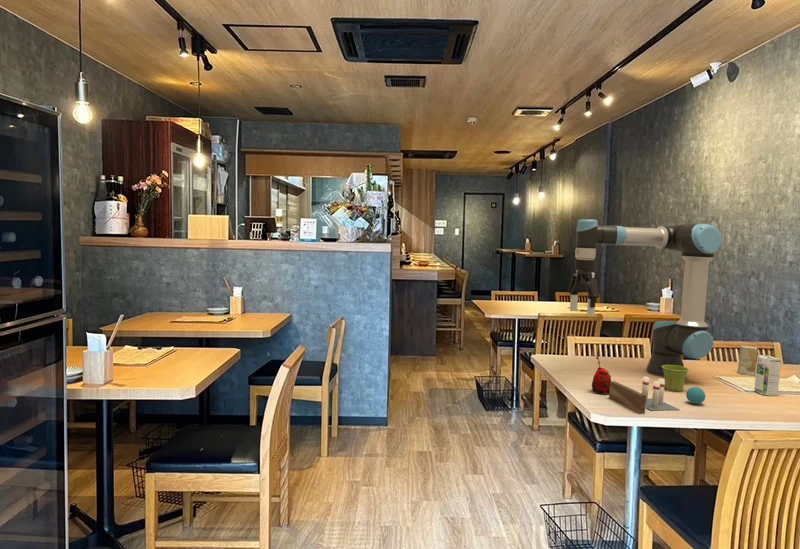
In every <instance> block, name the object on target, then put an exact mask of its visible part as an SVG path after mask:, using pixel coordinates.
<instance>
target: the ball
mask: <svg viewBox="0 0 800 549" xmlns="http://www.w3.org/2000/svg"><path fill="white" fill-rule="evenodd" d="M685 394H686V395H685V396H686V399H687V400H688V402H690V403H691V404H694V405H699V404H702V403H703V402H704V401H705V400H706V393H705V391H704V389H702V388H701V387H698V386H692V387H689V388H688V389H687V391H686V393H685Z"/></svg>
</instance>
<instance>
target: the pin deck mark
mask: <svg viewBox="0 0 800 549" xmlns="http://www.w3.org/2000/svg"><path fill="white" fill-rule="evenodd" d="M652 398H653V397H651V398H648V400H647V402H646V405H645V410H649V411H650V412H655V411H656V412H657V411H658V412H659V411H662V412H663V411H664V410H665V411H666V410H667V411H681V410H680V408H677V407H676V406H673V405H671V404H669V403H666V402H665V401H663V405H659V404H658V408H654V407H652Z"/></svg>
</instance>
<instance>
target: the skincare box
mask: <svg viewBox="0 0 800 549" xmlns="http://www.w3.org/2000/svg"><path fill="white" fill-rule="evenodd" d="M739 347H740V348H739V357H738V366H737V373H738V374H740V375H748V376H755V377H756V367H757V357H758V347H757V346H749V345H748V346H747V345H740V346H739Z"/></svg>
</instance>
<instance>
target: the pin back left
mask: <svg viewBox="0 0 800 549" xmlns="http://www.w3.org/2000/svg"><path fill="white" fill-rule="evenodd" d="M652 384H653V385H652V397H651V398H652V407H654V408H658V404H659V390H660V382H659V381H658V380H654V381H653V383H652Z"/></svg>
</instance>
